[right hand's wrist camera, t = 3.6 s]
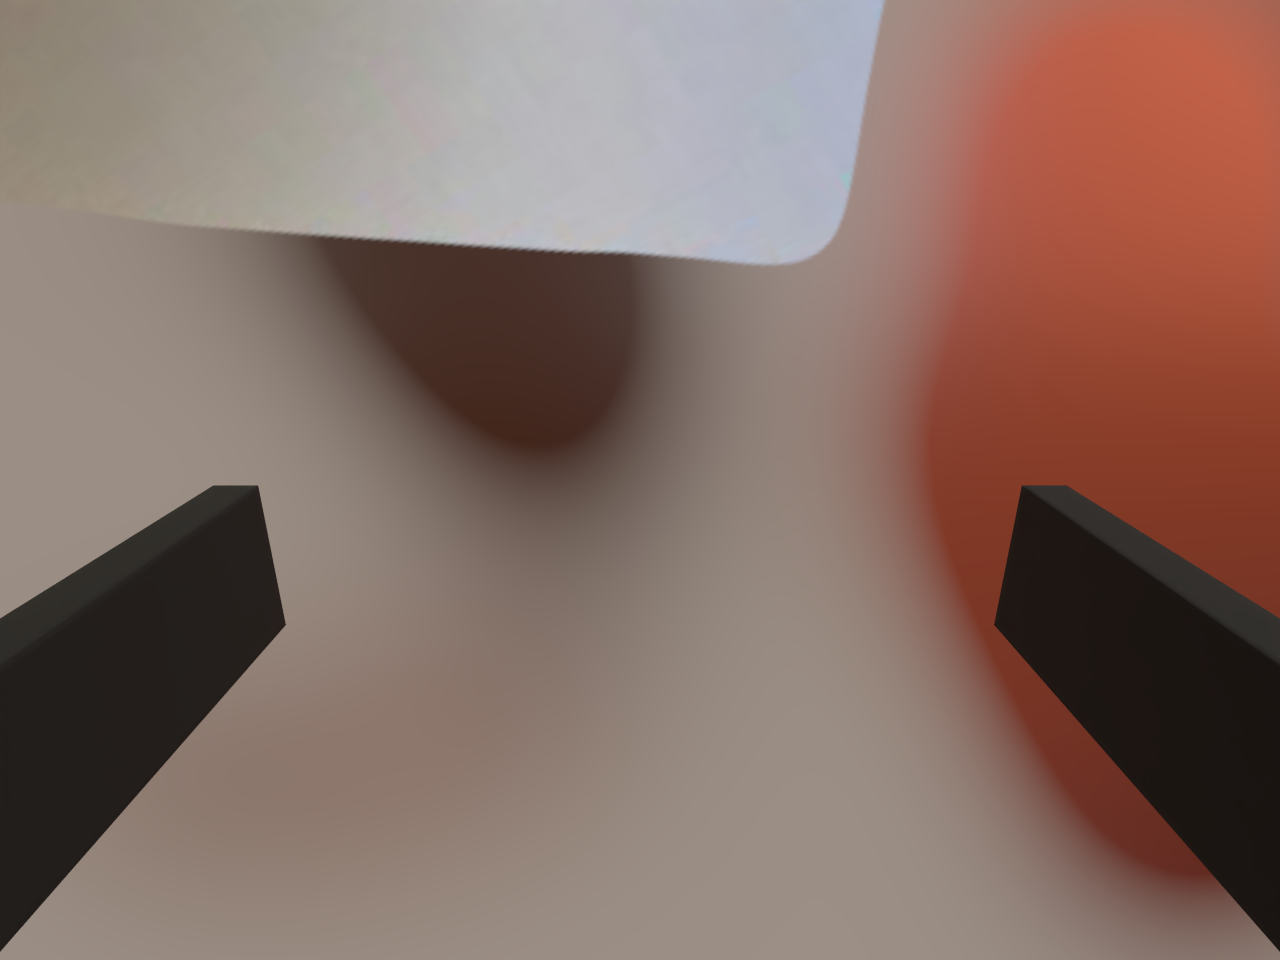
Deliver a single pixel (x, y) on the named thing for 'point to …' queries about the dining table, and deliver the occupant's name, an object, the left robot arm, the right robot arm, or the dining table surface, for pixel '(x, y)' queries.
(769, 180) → the dining table surface
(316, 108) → the dining table surface
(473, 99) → the dining table surface
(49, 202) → the dining table surface
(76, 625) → the right robot arm
